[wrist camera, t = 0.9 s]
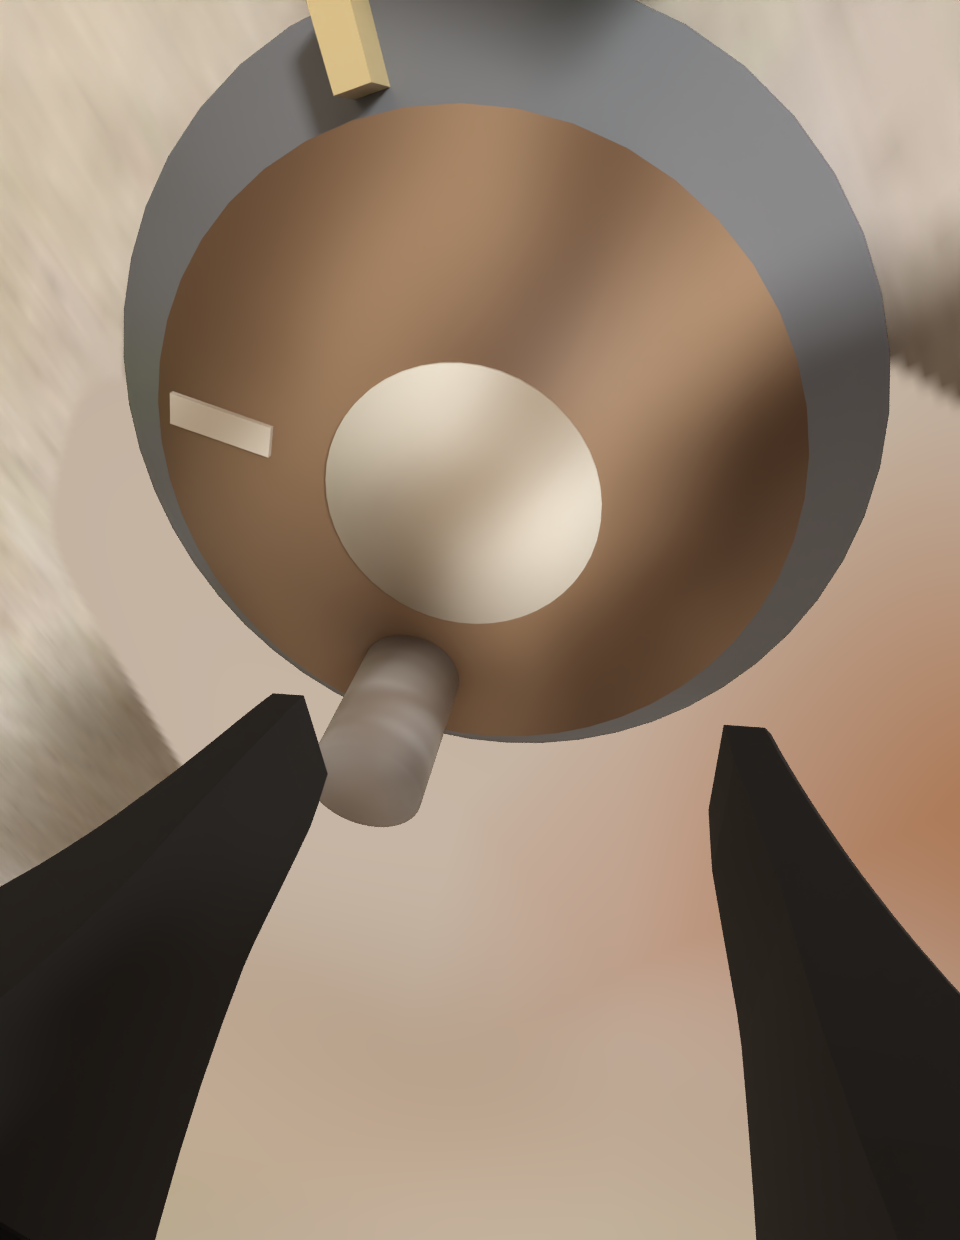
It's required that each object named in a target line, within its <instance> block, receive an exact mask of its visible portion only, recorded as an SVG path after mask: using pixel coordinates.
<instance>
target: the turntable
mask: <svg viewBox="0 0 960 1240" xmlns="http://www.w3.org/2000/svg"><path fill="white" fill-rule="evenodd" d="M158 406H159V417H160V429H161V440H162V445H163V450H164V454H165V459H166V464H167V468H168V473H169V478H170V481H171V484H172V487H173V490H174V493H175V496H176V498H177V501H178V504H179V507H180V510H181V513H182V515H183V518H184V520H185V522H186V524H187V526H188V528H189V530H190V533H191V535H192V537H193V539H194V541H195V543H196V545H197V547H198V549H199V551H200V552H201V554H202V556H203V557H204V559H205V561H206V562H207V564H208V566H209V567H210V569H211V571H212V572H213V574H214V576H215V577H216V579H217V580H218V581H219V583H220V584H221V585H222V587H223V588H224V589H225V591H226V592H227V593H228V595H229V596H230V597H231V599H232V600H233V601H234V603H235V604H236V605H237V607H238V608H239V609H240V610H241V611H242V612H243V613H244V614H245V615H246V616H247V618H248V619H249V620H250V621H251V622H252V623H253V624H254V625H255V626H256V627H257V629H258V630H259V631H260V632H261V633H263V634H264V635H265V636H266V637H267V638H268V639H269V640H270V641H271V642H272V643H273V644H275V645H276V646H277V647H278V648H279V649H280V650H281V651H282V652H283V653H284V654H286V655H287V656H288V657H290V658H291V659H292V660H294V661H295V662H296V663H298V664H299V665H300V666H302V667H303V668H304V669H306V670H307V671H308V672H310V673H311V674H313V675H314V676H316V677H317V678H319V679H321V680H322V681H324V682H325V683H327V684H329V685H330V686H332V687H333V688H335V689H337V690H338V691H340V692H342V693H344V694H345V695H344V697H343V699H342V701H341V703H340V705H339V707H338V709H337V710H336V713H335V714H334V716H333V718H332V720H331V722H330V724H329V726H328V728H327V730H326V731H325V733H324V735H323V737H322V739H321V741H320V743H319V747H320V750H321V753H322V757H323V760H324V763H325V766H326V769H327V773H328V775H327V778H326V781H325V784H324V788H323V791H322V794H321V797H320V800H319V801H320V802H321V803H322V804H323V805H325V806H326V807H327V808H328V809H330V810H331V811H333V812H334V813H336V814H337V815H339V816H341V817H343V818H345V819H347V820H350V821H353V822H355V823H359V824H363V825H367V826H375V827H389V826H395V825H399V824H402V823H404V822H406V821H408V820H410V819H411V818H412V817H413V816H415V814H416V813H417V812H418V810H419V808H420V805H421V802H422V798H423V795H424V792H425V789H426V786H427V783H428V780H429V776H430V774H431V771H432V767H433V764H434V761H435V758H436V755H437V752H438V749H439V746H440V742H441V740H442V737H443V733H444V730H449V731H454V732H459V733H468V734H477V735H487V736H532V735H543V734H554V733H561V732H566V731H571V730H576V729H581V728H586V727H590V726H594V725H597V724H600V723H603V722H607V721H610V720H613V719H616V718H620V717H622V716H624V715H627V714H629V713H631V712H634V711H636V710H638V709H641V708H643V707H645V706H647V705H650V704H652V703H654V702H655V701H657V700H659V699H661V698H662V697H664V696H666V695H668V694H669V693H671V692H673V691H674V690H676V689H678V688H680V687H681V686H683V685H684V684H685V683H687V682H688V681H689V680H691V679H692V678H693V677H695V676H696V675H697V674H699V673H700V672H701V671H703V670H704V669H705V668H707V667H708V666H709V665H710V664H711V663H712V662H713V661H714V660H716V659H717V658H718V657H719V656H720V655H721V654H722V653H723V652H724V651H725V650H726V649H727V648H728V647H729V646H730V645H731V644H732V643H733V642H734V641H735V640H736V639H737V638H738V636H739V635H740V634H741V633H742V631H743V630H744V629H745V628H746V626H747V625H748V624H749V623H750V621H751V620H752V619H753V617H754V616H755V615H756V614H757V612H758V611H759V610H760V608H761V606H762V605H763V603H764V601H765V599H766V598H767V596H768V594H769V593H770V591H771V589H772V588H773V586H774V584H775V583H776V581H777V579H778V578H779V575H780V573H781V570H782V568H783V566H784V563H785V561H786V558H787V556H788V554H789V551H790V549H791V546H792V544H793V542H794V539H795V535H796V531H797V527H798V523H799V519H800V515H801V511H802V507H803V503H804V500H805V491H806V481H807V471H808V462H809V439H808V419H807V405H806V400H805V395H804V391H803V386H802V381H801V376H800V371H799V366H798V361H797V358H796V355H795V352H794V349H793V347H792V344H791V341H790V339H789V336H788V333H787V331H786V328H785V325H784V322H783V320H782V317H781V314H780V312H779V310H778V308H777V306H776V304H775V302H774V301H773V299H772V297H771V295H770V293H769V292H768V290H767V288H766V286H765V285H764V283H763V281H762V279H761V277H760V276H759V274H758V272H757V270H756V268H755V267H754V265H753V263H752V262H751V261H750V259H749V258H748V257H747V256H746V254H745V253H744V252H743V250H742V249H741V248H740V247H739V245H738V244H737V243H736V242H735V240H734V239H733V238H732V237H731V235H730V234H729V233H728V231H727V230H726V229H725V228H724V226H723V225H722V224H721V223H720V221H719V220H718V219H717V218H716V217H715V216H714V215H713V214H712V213H711V212H710V211H708V210H707V209H706V208H705V207H704V206H703V205H702V204H701V203H700V202H699V201H698V200H697V199H695V198H694V197H693V196H692V195H691V194H690V193H689V192H688V191H687V190H686V189H685V188H684V187H683V186H681V185H680V184H679V183H678V182H677V181H676V180H675V179H673V178H672V177H670V176H669V175H667V174H666V173H664V172H663V171H661V170H660V169H658V168H657V167H655V166H654V165H652V164H651V163H649V162H648V161H646V160H645V159H643V158H642V157H640V156H639V155H637V154H636V153H634V152H633V151H631V150H630V149H628V148H626V147H624V146H622V145H620V144H617V143H615V142H613V141H611V140H609V139H606V138H604V137H602V136H600V135H598V134H595V133H593V132H591V131H589V130H587V129H584V128H582V127H580V126H578V125H576V124H573V123H570V122H566V121H562V120H558V119H555V118H551V117H547V116H543V115H540V114H536V113H532V112H529V111H525V110H521V109H517V108H507V107H497V106H486V105H476V104H465V103H454V104H440V105H427V106H413V107H403V108H399V109H395V110H391V111H387V112H383V113H379V114H375V115H372V116H368V117H364V118H360V119H356V120H352V121H350V122H347V123H345V124H343V125H341V126H339V127H336V128H334V129H332V130H330V131H327V132H325V133H323V134H321V135H318V136H316V137H314V138H312V139H309V140H307V141H305V142H303V143H302V144H300V145H299V146H298V147H296V148H295V149H293V150H292V151H290V152H289V153H287V154H286V155H284V156H283V157H281V158H280V159H278V160H277V161H275V162H274V163H272V164H271V165H269V166H268V167H266V168H265V169H263V170H262V171H261V172H260V173H259V174H258V175H257V176H256V177H255V178H254V179H253V180H252V181H251V182H250V183H249V184H248V185H247V186H246V187H245V188H244V189H243V190H242V191H241V192H239V193H238V194H237V195H236V196H235V197H234V198H233V199H232V200H231V201H230V202H229V203H228V205H227V206H226V207H225V209H224V210H223V211H222V213H221V214H220V215H219V217H218V218H217V219H216V221H215V222H214V223H213V225H212V226H211V227H210V229H209V230H208V231H207V233H206V234H205V235H204V237H203V238H202V239H201V241H200V243H199V245H198V247H197V249H196V251H195V253H194V255H193V257H192V259H191V261H190V263H189V264H188V266H187V268H186V270H185V272H184V274H183V276H182V278H181V280H180V283H179V286H178V289H177V292H176V295H175V298H174V301H173V304H172V307H171V310H170V313H169V316H168V319H167V324H166V329H165V335H164V340H163V346H162V351H161V357H160V367H159V391H158Z"/></svg>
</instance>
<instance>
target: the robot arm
mask: <svg viewBox="0 0 960 1240" xmlns="http://www.w3.org/2000/svg"><path fill="white" fill-rule="evenodd" d="M327 775H328V773H327V769H326V766H325V763H324V760H323V757H322V753H321V750H320V747H319V744H318V741H317V737H316V734H315V731H314V728H313V724H312V721H311V718H310V715H309V711H308V708H307V705H306V702H305V699H304V696H301V695H286V694H272V695H270V696H269V697H268V698H266V699H265V700H264V701H262V702H261V703H260V704H258V705H257V706H256V707H255V708H253V709H252V710H251V711H250V712H248V713H247V714H246V715H245V716H243V717H242V718H241V719H240V720H238V721H237V722H236V723H235V724H233V725H232V726H231V727H230V728H229V729H227V730H226V731H225V732H224V733H222V734H221V735H220V736H219V737H218V738H216V739H215V740H214V741H213V742H211V743H210V744H209V745H207V746H206V747H205V748H204V749H203V750H201V751H200V752H199V753H198V754H196V755H195V756H194V757H193V758H191V759H190V760H189V761H187V762H186V763H185V764H184V765H182V766H181V767H180V768H179V769H177V770H176V771H175V772H174V773H172V774H171V775H170V776H168V777H167V778H166V779H164V780H163V781H162V782H160V783H159V784H157V785H156V786H155V787H153V788H152V789H151V790H149V791H148V792H147V793H145V794H144V795H143V796H141V797H140V798H138V799H137V800H136V801H134V802H133V803H132V804H130V805H129V806H128V807H126V808H125V809H124V810H122V811H121V812H120V813H118V814H117V815H115V816H114V817H112V818H111V819H110V820H108V821H107V822H105V823H104V824H102V825H101V826H99V827H98V828H96V829H95V830H93V831H92V832H90V833H89V834H87V835H86V836H84V837H83V838H81V839H80V840H78V841H76V842H75V843H73V844H72V845H70V846H69V847H67V848H65V849H64V850H62V851H61V852H59V853H58V854H56V855H54V856H53V857H51V858H49V859H48V860H46V861H45V862H43V863H41V864H40V865H38V866H36V867H34V868H33V869H31V870H29V871H27V872H26V873H24V874H22V875H20V876H18V877H17V878H15V879H13V880H11V881H10V882H8V883H6V884H4V885H3V886H1V887H0V1240H155V1238H156V1234H157V1231H158V1227H159V1223H160V1219H161V1216H162V1213H163V1209H164V1205H165V1202H166V1199H167V1195H168V1191H169V1188H170V1184H171V1181H172V1177H173V1174H174V1170H175V1167H176V1163H177V1160H178V1156H179V1153H180V1150H181V1147H182V1143H183V1140H184V1137H185V1134H186V1131H187V1128H188V1124H189V1121H190V1118H191V1115H192V1112H193V1108H194V1105H195V1102H196V1099H197V1096H198V1092H199V1089H200V1086H201V1083H202V1080H203V1078H204V1074H205V1072H206V1069H207V1066H208V1063H209V1060H210V1057H211V1054H212V1052H213V1049H214V1046H215V1043H216V1040H217V1037H218V1034H219V1031H220V1029H221V1026H222V1023H223V1020H224V1017H225V1015H226V1012H227V1009H228V1006H229V1004H230V1001H231V999H232V996H233V993H234V991H235V988H236V985H237V983H238V980H239V977H240V975H241V972H242V969H243V966H244V965H245V962H246V960H247V958H248V955H249V953H250V951H251V948H252V946H253V944H254V942H255V940H256V938H257V936H258V934H259V931H260V929H261V927H262V925H263V923H264V921H265V919H266V917H267V915H268V913H269V911H270V909H271V907H272V905H273V903H274V901H275V899H276V897H277V895H278V892H279V891H280V889H281V886H282V884H283V882H284V880H285V878H286V876H287V874H288V872H289V870H290V868H291V866H292V864H293V862H294V860H295V858H296V856H297V853H298V851H299V849H300V847H301V845H302V842H303V841H304V839H305V836H306V835H307V832H308V830H309V828H310V826H311V823H312V820H313V817H314V814H315V812H316V809H317V806H318V803H319V800H320V797H321V794H322V791H323V788H324V784H325V781H326V778H327ZM709 824H710V825H709V826H710V843H711V859H712V872H713V878H714V884H715V890H716V896H717V901H718V907H719V913H720V919H721V925H722V930H723V936H724V941H725V947H726V953H727V959H728V964H729V970H730V976H731V981H732V987H733V993H734V998H735V1004H736V1009H737V1015H738V1023H739V1030H740V1038H741V1045H742V1056H743V1067H744V1079H745V1090H746V1103H747V1115H748V1127H749V1140H750V1155H751V1168H752V1182H753V1194H754V1210H755V1226H756V1240H960V993H959V992H958V991H957V989H956V988H955V987H954V986H953V985H952V984H951V983H950V982H949V981H948V980H947V978H946V977H945V976H944V975H943V974H942V973H941V971H940V970H939V969H938V968H937V967H936V966H935V965H934V963H933V962H932V961H931V960H930V959H929V958H928V956H927V955H926V954H925V953H924V952H923V951H922V950H921V948H920V947H919V946H918V945H917V944H916V943H915V941H914V940H913V939H912V938H911V936H910V935H909V934H908V933H907V932H906V931H905V929H904V928H903V927H902V926H901V924H900V923H899V922H898V921H897V920H896V918H895V917H894V916H893V915H892V913H891V912H890V911H889V909H888V908H887V907H886V906H885V904H884V903H883V902H882V900H881V899H880V898H879V897H878V895H877V894H876V893H875V891H874V890H873V889H872V887H871V886H870V885H869V883H868V882H867V881H866V880H865V878H864V877H863V876H862V875H861V873H860V872H859V870H858V869H857V867H856V866H855V865H854V863H853V862H852V861H851V859H850V858H849V856H848V855H847V854H846V852H845V851H844V849H843V848H842V846H841V845H840V844H839V842H838V841H837V839H836V838H835V836H834V835H833V833H832V832H831V831H830V829H829V828H828V826H827V825H826V823H825V822H824V820H823V819H822V818H821V816H820V815H819V813H818V811H817V810H816V808H815V807H814V805H813V804H812V803H811V801H810V799H809V798H808V796H807V794H806V793H805V791H804V790H803V788H802V787H801V785H800V784H799V782H798V780H797V779H796V777H795V775H794V774H793V772H792V770H791V769H790V767H789V765H788V764H787V762H786V760H785V759H784V757H783V755H782V753H781V751H780V750H779V748H778V746H777V744H776V742H775V741H774V739H773V737H772V735H771V734H770V733H769V732H768V731H767V730H766V729H765V728H759V727H744V726H731V725H724V727H723V732H722V738H721V744H720V749H719V755H718V760H717V766H716V772H715V777H714V783H713V788H712V794H711V800H710V805H709Z"/></svg>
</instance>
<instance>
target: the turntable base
mask: <svg viewBox="0 0 960 1240" xmlns="http://www.w3.org/2000/svg"><path fill="white" fill-rule="evenodd" d="M306 2H307V5H308V9H309V12H310V16H309V17H307V18H305V19H303V20H301V21H299V22H297V23H296V24H294V25H292V26H290V27H288V28H287V29H286V30H284V31H283V32H282V33H281V34H279V35H278V36H277V37H275V38H274V39H273V40H271V41H270V42H269V43H268V44H266V45H265V46H264V47H262V48H261V49H260V50H258V51H257V52H256V53H255V54H253V55H252V56H251V57H249V58H248V59H247V60H245V61H244V62H243V63H242V64H240V65H239V66H238V68H237V69H236V70H235V71H234V72H233V73H232V74H231V75H230V76H229V77H228V78H227V79H226V81H225V82H224V83H223V84H222V85H221V86H220V87H219V88H218V89H217V90H216V91H215V93H214V94H213V95H212V96H211V97H210V98H209V99H208V100H207V101H206V102H205V103H204V104H203V106H202V107H201V108H200V109H199V110H198V112H197V114H196V115H195V117H194V118H193V120H192V121H191V123H190V124H189V126H188V127H187V129H186V130H185V132H184V133H183V135H182V136H181V138H180V140H179V141H178V143H177V144H176V146H175V147H174V149H173V150H172V152H171V153H170V155H169V156H168V158H167V161H166V163H165V165H164V167H163V170H162V172H161V174H160V176H159V178H158V181H157V183H156V185H155V187H154V190H153V192H152V194H151V196H150V198H149V201H148V203H147V205H146V208H145V211H144V215H143V218H142V222H141V225H140V229H139V232H138V236H137V239H136V243H135V246H134V250H133V253H132V257H131V263H130V270H129V278H128V285H127V292H126V299H125V306H124V363H125V372H126V380H127V389H128V398H129V405H130V410H131V413H132V418H133V422H134V426H135V431H136V435H137V439H138V443H139V448H140V451H141V454H142V456H143V459H144V462H145V464H146V468H147V470H148V473H149V476H150V479H151V482H152V484H153V487H154V490H155V492H156V494H157V496H158V498H159V500H160V503H161V505H162V507H163V509H164V511H165V513H166V515H167V517H168V519H169V521H170V523H171V525H172V528H173V529H174V531H175V533H176V534H177V536H178V538H179V539H180V541H181V542H182V544H183V546H184V547H185V549H186V551H187V552H188V554H189V556H190V557H191V559H192V560H193V562H194V563H195V565H196V566H197V568H198V569H199V570H200V572H201V573H202V574H203V575H204V577H205V578H206V579H207V581H208V582H209V584H210V585H211V586H212V588H213V589H214V590H215V592H216V593H217V594H218V595H219V597H220V598H221V599H222V600H223V601H224V602H225V603H226V604H227V605H228V606H229V607H230V608H231V610H232V611H233V612H234V613H235V614H236V615H237V616H238V617H239V618H240V619H241V621H242V622H243V623H244V624H245V625H246V626H247V627H248V628H250V629H251V630H252V631H253V632H254V633H255V634H256V635H257V636H258V637H259V638H261V639H262V640H263V641H264V642H265V643H266V644H267V645H268V646H269V647H270V648H272V649H273V650H274V651H275V652H276V653H278V654H279V655H280V656H282V657H283V658H285V659H286V660H287V661H289V662H290V663H291V664H293V665H294V666H295V667H296V668H298V669H299V670H300V671H302V672H303V673H305V674H306V675H308V676H310V677H311V678H313V679H315V680H316V681H318V682H319V683H321V684H323V685H324V686H326V687H327V688H329V689H330V690H332V691H334V692H336V693H337V694H340V695H341V696H343V697H344V695H345V694H344V693H342V692H340V691H338V690H337V689H335V688H333V687H332V686H330V685H329V684H327V683H325V682H324V681H322V680H321V679H319V678H317V677H316V676H314V675H313V674H311V673H310V672H308V671H307V670H306V669H304V668H303V667H302V666H300V665H299V664H298V663H296V662H295V661H294V660H292V659H291V658H290V657H288V656H287V655H286V654H284V653H283V652H282V651H281V650H280V649H279V648H278V647H277V646H276V645H275V644H273V643H272V642H271V641H270V640H269V639H268V638H267V637H266V636H265V635H264V634H263V633H261V632H260V631H259V630H258V629H257V627H256V626H255V625H254V624H253V623H252V622H251V621H250V620H249V619H248V618H247V616H246V615H245V614H244V613H243V612H242V611H241V610H240V609H239V608H238V607H237V605H236V604H235V603H234V601H233V600H232V599H231V597H230V596H229V595H228V593H227V592H226V591H225V589H224V588H223V587H222V585H221V584H220V583H219V581H218V580H217V579H216V577H215V576H214V574H213V572H212V571H211V569H210V567H209V566H208V564H207V562H206V561H205V559H204V557H203V556H202V554H201V552H200V551H199V549H198V547H197V545H196V543H195V541H194V539H193V537H192V535H191V533H190V530H189V528H188V526H187V524H186V522H185V520H184V518H183V515H182V513H181V510H180V507H179V504H178V501H177V498H176V496H175V493H174V490H173V487H172V484H171V481H170V478H169V473H168V468H167V464H166V459H165V454H164V450H163V445H162V440H161V429H160V417H159V406H158V391H159V367H160V357H161V351H162V346H163V340H164V335H165V329H166V324H167V319H168V316H169V313H170V310H171V307H172V304H173V301H174V298H175V295H176V292H177V289H178V286H179V283H180V280H181V278H182V276H183V274H184V272H185V270H186V268H187V266H188V264H189V263H190V261H191V259H192V257H193V255H194V253H195V251H196V249H197V247H198V245H199V243H200V241H201V239H202V238H203V237H204V235H205V234H206V233H207V231H208V230H209V229H210V227H211V226H212V225H213V223H214V222H215V221H216V219H217V218H218V217H219V215H220V214H221V213H222V211H223V210H224V209H225V207H226V206H227V205H228V203H229V202H230V201H231V200H232V199H233V198H234V197H235V196H236V195H237V194H238V193H239V192H241V191H242V190H243V189H244V188H245V187H246V186H247V185H248V184H249V183H250V182H251V181H252V180H253V179H254V178H255V177H256V176H257V175H258V174H259V173H260V172H261V171H262V170H263V169H265V168H266V167H268V166H269V165H271V164H272V163H274V162H275V161H277V160H278V159H280V158H281V157H283V156H284V155H286V154H287V153H289V152H290V151H292V150H293V149H295V148H296V147H298V146H299V145H300V144H302V143H303V142H305V141H307V140H309V139H312V138H314V137H316V136H318V135H321V134H323V133H325V132H327V131H330V130H332V129H334V128H336V127H339V126H341V125H343V124H345V123H347V122H350V121H352V120H356V119H360V118H364V117H368V116H372V115H375V114H379V113H383V112H387V111H391V110H395V109H399V108H403V107H413V106H427V105H440V104H454V103H465V104H476V105H486V106H497V107H507V108H517V109H521V110H525V111H529V112H532V113H536V114H540V115H543V116H547V117H551V118H555V119H558V120H562V121H566V122H570V123H573V124H576V125H578V126H580V127H582V128H584V129H587V130H589V131H591V132H593V133H595V134H598V135H600V136H602V137H604V138H606V139H609V140H611V141H613V142H615V143H617V144H620V145H622V146H624V147H626V148H628V149H630V150H631V151H633V152H634V153H636V154H637V155H639V156H640V157H642V158H643V159H645V160H646V161H648V162H649V163H651V164H652V165H654V166H655V167H657V168H658V169H660V170H661V171H663V172H664V173H666V174H667V175H669V176H670V177H672V178H673V179H675V180H676V181H677V182H678V183H679V184H680V185H681V186H683V187H684V188H685V189H686V190H687V191H688V192H689V193H690V194H691V195H692V196H693V197H694V198H695V199H697V200H698V201H699V202H700V203H701V204H702V205H703V206H704V207H705V208H706V209H707V210H708V211H710V212H711V213H712V214H713V215H714V216H715V217H716V218H717V219H718V220H719V221H720V223H721V224H722V225H723V226H724V228H725V229H726V230H727V231H728V233H729V234H730V235H731V237H732V238H733V239H734V240H735V242H736V243H737V244H738V245H739V247H740V248H741V249H742V250H743V252H744V253H745V254H746V256H747V257H748V258H749V259H750V261H751V262H752V263H753V265H754V267H755V268H756V270H757V272H758V274H759V276H760V277H761V279H762V281H763V283H764V285H765V286H766V288H767V290H768V292H769V293H770V295H771V297H772V299H773V301H774V302H775V304H776V306H777V308H778V310H779V312H780V314H781V317H782V320H783V322H784V325H785V328H786V331H787V333H788V336H789V339H790V341H791V344H792V347H793V349H794V352H795V355H796V358H797V361H798V366H799V371H800V376H801V381H802V386H803V391H804V395H805V400H806V405H807V419H808V439H809V462H808V471H807V481H806V491H805V500H804V503H803V507H802V511H801V515H800V519H799V523H798V527H797V531H796V535H795V539H794V542H793V544H792V546H791V549H790V551H789V554H788V556H787V558H786V561H785V563H784V566H783V568H782V570H781V573H780V575H779V578H778V579H777V581H776V583H775V584H774V586H773V588H772V589H771V591H770V593H769V594H768V596H767V598H766V599H765V601H764V603H763V605H762V606H761V608H760V610H759V611H758V612H757V614H756V615H755V616H754V617H753V619H752V620H751V621H750V623H749V624H748V625H747V626H746V628H745V629H744V630H743V631H742V633H741V634H740V635H739V636H738V638H737V639H736V640H735V641H734V642H733V643H732V644H731V645H730V646H729V647H728V648H727V649H726V650H725V651H724V652H723V653H722V654H721V655H720V656H719V657H718V658H717V659H716V660H714V661H713V662H712V663H711V664H710V665H709V666H708V667H707V668H705V669H704V670H703V671H701V672H700V673H699V674H697V675H696V676H695V677H693V678H692V679H691V680H689V681H688V682H687V683H685V684H684V685H683V686H681V687H680V688H678V689H676V690H674V691H673V692H671V693H669V694H668V695H666V696H664V697H662V698H661V699H659V700H657V701H655V702H654V703H652V704H650V705H647V706H645V707H643V708H641V709H638V710H636V711H634V712H631V713H629V714H627V715H624V716H622V717H620V718H616V719H613V720H610V721H607V722H603V723H600V724H597V725H594V726H590V727H586V728H581V729H576V730H571V731H566V732H561V733H554V734H543V735H532V736H487V735H477V734H468V733H459V732H454V731H449V730H444V734H449V735H454V736H459V737H464V738H469V739H477V740H487V741H497V742H511V743H512V742H513V743H514V742H515V743H517V742H518V743H523V742H525V743H544V742H557V741H568V740H579V739H584V738H589V737H595V736H600V735H605V734H611V733H616V732H619V731H622V730H625V729H629V728H632V727H636V726H639V725H642V724H646V723H649V722H652V721H655V720H657V719H659V718H662V717H664V716H667V715H669V714H671V713H674V712H676V711H679V710H681V709H683V708H686V707H688V706H690V705H691V704H694V703H695V702H697V701H699V700H701V699H702V698H704V697H706V696H708V695H710V694H712V693H713V692H715V691H717V690H719V689H720V688H722V687H724V686H725V685H726V684H728V683H729V682H731V681H732V680H733V679H735V678H736V677H738V676H739V675H741V674H742V673H743V672H745V671H746V670H748V669H749V668H750V667H752V666H753V665H754V664H756V663H757V662H758V661H759V660H760V659H762V658H763V657H764V656H765V655H766V654H767V653H768V652H769V651H770V650H771V649H773V647H775V646H776V645H777V644H778V643H779V642H780V641H781V640H782V639H783V638H785V637H786V636H787V635H788V634H789V633H790V632H791V630H792V629H793V628H794V627H795V626H796V624H797V623H798V622H799V621H800V620H801V619H802V617H803V616H804V615H805V614H806V613H807V612H808V610H809V609H810V608H811V607H812V606H813V605H814V603H815V602H816V601H817V600H818V598H819V597H820V595H821V594H822V592H823V591H824V589H825V588H826V586H827V584H828V583H829V582H830V580H831V578H832V577H833V575H834V574H835V572H836V571H837V569H838V568H839V566H840V565H841V563H842V562H843V560H844V558H845V556H846V554H847V551H848V549H849V547H850V545H851V543H852V541H853V539H854V537H855V535H856V533H857V531H858V528H859V526H860V524H861V522H862V520H863V518H864V516H865V513H866V509H867V506H868V503H869V500H870V497H871V494H872V490H873V487H874V484H875V481H876V478H877V475H878V472H879V469H880V464H881V458H882V452H883V446H884V439H885V434H886V428H887V421H888V416H889V388H890V387H889V385H890V350H889V343H888V336H887V328H886V321H885V314H884V306H883V299H882V293H881V290H880V286H879V283H878V280H877V276H876V273H875V270H874V266H873V263H872V260H871V256H870V253H869V249H868V246H867V243H866V239H865V236H864V233H863V231H862V229H861V227H860V225H859V222H858V220H857V218H856V216H855V214H854V212H853V210H852V208H851V206H850V204H849V202H848V200H847V198H846V196H845V194H844V191H843V189H842V187H841V185H840V183H839V181H838V179H837V177H836V175H835V173H834V171H833V170H832V169H831V167H830V166H829V164H828V163H827V161H826V160H825V159H824V157H823V156H822V154H821V153H820V152H819V150H818V149H817V147H816V146H815V145H814V143H813V142H812V140H811V139H810V137H809V136H808V135H807V133H806V132H805V130H804V129H803V128H802V126H801V125H800V123H799V122H798V120H797V119H796V118H795V116H794V115H793V114H792V113H791V112H790V111H789V110H788V109H787V108H786V107H785V106H784V105H783V104H782V103H781V102H780V101H779V100H778V99H777V98H776V97H775V96H774V95H773V94H772V93H771V92H770V91H769V90H768V89H767V88H766V87H765V86H764V85H763V84H762V83H761V82H760V81H759V80H758V79H757V78H756V77H755V76H754V75H753V74H752V73H751V72H750V71H749V70H748V69H747V68H746V67H745V66H744V65H742V64H741V63H740V62H738V61H737V60H735V59H734V58H733V57H731V56H730V55H728V54H727V53H725V52H724V51H723V50H721V49H720V48H718V47H717V46H716V45H714V44H713V43H711V42H710V41H709V40H707V39H706V38H704V37H703V36H701V35H700V34H699V33H697V32H696V31H694V30H693V29H692V28H690V27H689V26H687V25H686V24H684V23H682V22H680V21H678V20H675V19H673V18H671V17H669V16H667V15H665V14H663V13H660V12H658V11H656V10H654V9H652V8H650V7H648V6H646V5H643V4H641V3H639V2H637V1H635V0H306Z"/></svg>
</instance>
